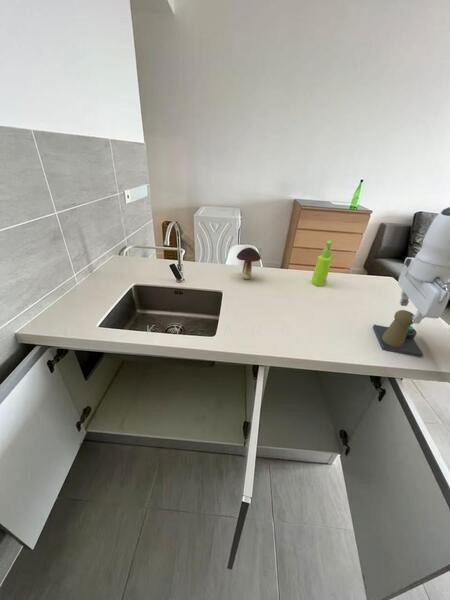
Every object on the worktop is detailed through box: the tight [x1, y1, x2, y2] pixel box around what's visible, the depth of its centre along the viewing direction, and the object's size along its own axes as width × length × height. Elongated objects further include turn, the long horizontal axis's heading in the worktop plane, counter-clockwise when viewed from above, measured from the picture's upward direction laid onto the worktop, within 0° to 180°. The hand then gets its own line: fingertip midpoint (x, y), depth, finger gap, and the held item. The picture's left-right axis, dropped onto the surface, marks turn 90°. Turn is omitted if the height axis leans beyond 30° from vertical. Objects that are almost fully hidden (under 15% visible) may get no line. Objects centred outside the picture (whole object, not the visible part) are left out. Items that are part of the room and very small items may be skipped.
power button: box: [408, 325, 414, 333], centre depth 81 cm, size 3×3×2 cm
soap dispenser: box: [311, 239, 334, 287], centre depth 109 cm, size 6×7×20 cm
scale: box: [372, 324, 424, 358], centre depth 79 cm, size 12×13×3 cm
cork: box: [382, 309, 415, 347], centre depth 75 cm, size 6×6×11 cm
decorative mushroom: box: [236, 247, 262, 280], centre depth 110 cm, size 11×11×15 cm
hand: (408, 312), depth 72 cm, fingers open, 8 cm apart
